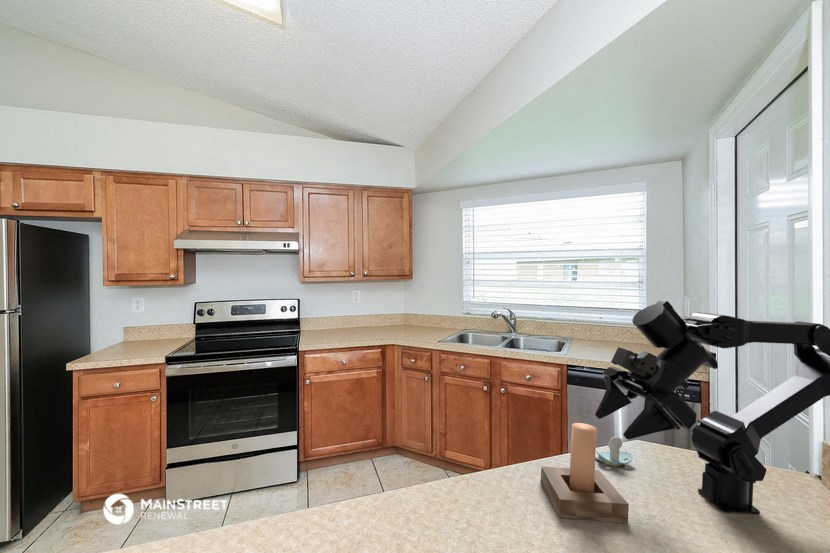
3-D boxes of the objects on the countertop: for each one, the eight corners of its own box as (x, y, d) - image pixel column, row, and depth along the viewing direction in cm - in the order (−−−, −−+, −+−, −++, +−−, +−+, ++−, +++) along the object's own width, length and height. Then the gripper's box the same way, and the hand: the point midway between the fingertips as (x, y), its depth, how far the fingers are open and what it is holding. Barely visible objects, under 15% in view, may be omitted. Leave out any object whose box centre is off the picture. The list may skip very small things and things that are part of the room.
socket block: (598, 485, 74) (599, 470, 74) (627, 522, 63) (628, 504, 63) (540, 481, 74) (541, 466, 74) (559, 517, 63) (560, 499, 63)
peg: (582, 490, 71) (585, 422, 71) (598, 502, 67) (601, 430, 67) (564, 492, 70) (567, 423, 70) (579, 505, 66) (582, 432, 66)
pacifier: (587, 456, 87) (603, 469, 81) (588, 428, 87) (604, 438, 81) (618, 456, 87) (636, 468, 82) (619, 428, 88) (637, 438, 82)
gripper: (614, 326, 78) (558, 379, 78) (681, 342, 60) (608, 412, 59) (650, 366, 78) (595, 419, 78) (728, 395, 60) (656, 464, 59)
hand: (610, 426), depth 69 cm, fingers open, 9 cm apart
